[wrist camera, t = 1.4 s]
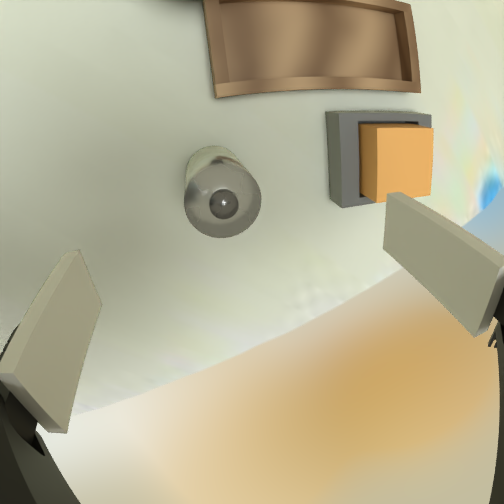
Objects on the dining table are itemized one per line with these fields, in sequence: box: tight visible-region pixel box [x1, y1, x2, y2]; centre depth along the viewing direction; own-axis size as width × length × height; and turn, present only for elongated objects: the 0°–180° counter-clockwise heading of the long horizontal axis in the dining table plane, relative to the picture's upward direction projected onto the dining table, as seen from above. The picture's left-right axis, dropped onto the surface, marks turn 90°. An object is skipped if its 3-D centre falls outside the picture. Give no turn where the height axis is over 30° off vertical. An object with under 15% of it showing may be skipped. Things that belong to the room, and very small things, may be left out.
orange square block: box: [358, 123, 433, 203], centre depth 23 cm, size 6×6×3 cm
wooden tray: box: [202, 0, 421, 98], centre depth 19 cm, size 18×9×2 cm, turn 97°
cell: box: [184, 146, 261, 238], centre depth 20 cm, size 4×4×9 cm
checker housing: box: [326, 111, 431, 208], centre depth 25 cm, size 10×8×2 cm
